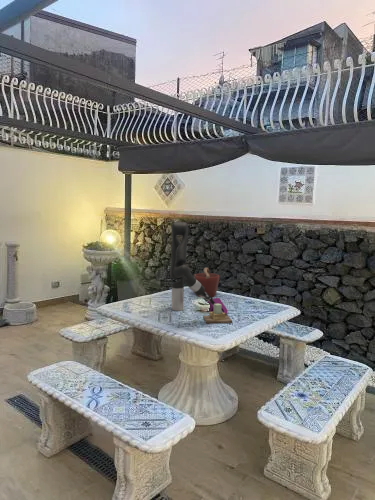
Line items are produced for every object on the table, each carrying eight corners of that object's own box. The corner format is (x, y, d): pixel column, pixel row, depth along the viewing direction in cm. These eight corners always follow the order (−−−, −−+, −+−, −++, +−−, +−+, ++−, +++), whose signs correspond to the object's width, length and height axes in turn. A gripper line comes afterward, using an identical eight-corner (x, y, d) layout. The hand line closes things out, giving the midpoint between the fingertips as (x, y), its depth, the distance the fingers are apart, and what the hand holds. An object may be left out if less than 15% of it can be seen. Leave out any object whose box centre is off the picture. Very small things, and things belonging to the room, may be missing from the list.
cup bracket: (202, 317, 266) (203, 310, 266) (227, 317, 269) (227, 309, 268) (206, 323, 253) (206, 315, 252) (232, 323, 255) (232, 315, 254)
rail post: (213, 317, 261) (213, 303, 260) (218, 317, 263) (218, 303, 262) (216, 319, 258) (216, 305, 257) (221, 318, 260) (221, 304, 259)
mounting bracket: (226, 322, 277) (216, 306, 291) (229, 313, 273) (219, 297, 287) (215, 323, 273) (205, 307, 287) (218, 314, 269) (208, 298, 283)
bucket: (213, 299, 318) (214, 271, 315) (189, 297, 326) (189, 269, 323) (221, 293, 341) (221, 266, 338) (198, 291, 349) (198, 265, 346)
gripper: (205, 285, 245) (219, 300, 251) (194, 281, 257) (208, 295, 264) (198, 293, 243) (212, 309, 249) (187, 289, 255) (202, 303, 262)
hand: (210, 302), depth 257 cm, fingers open, 8 cm apart
